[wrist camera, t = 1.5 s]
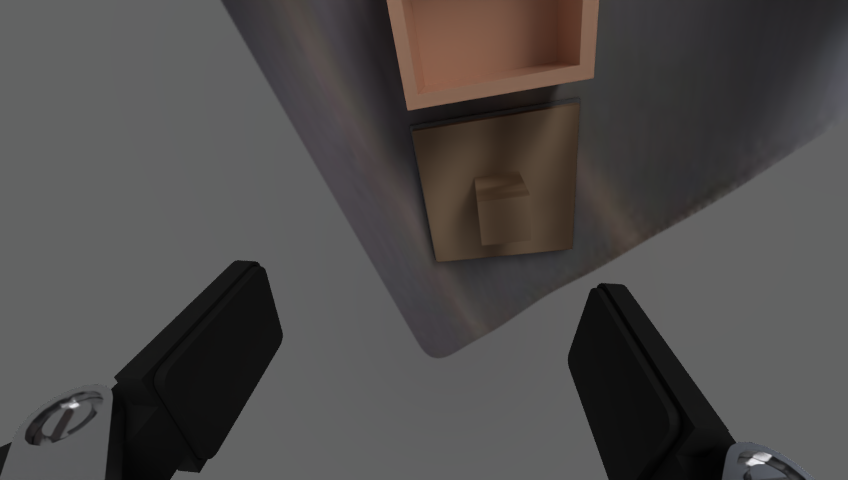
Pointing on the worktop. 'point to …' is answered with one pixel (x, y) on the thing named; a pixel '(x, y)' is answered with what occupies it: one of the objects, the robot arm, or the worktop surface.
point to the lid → (500, 183)
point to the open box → (490, 46)
